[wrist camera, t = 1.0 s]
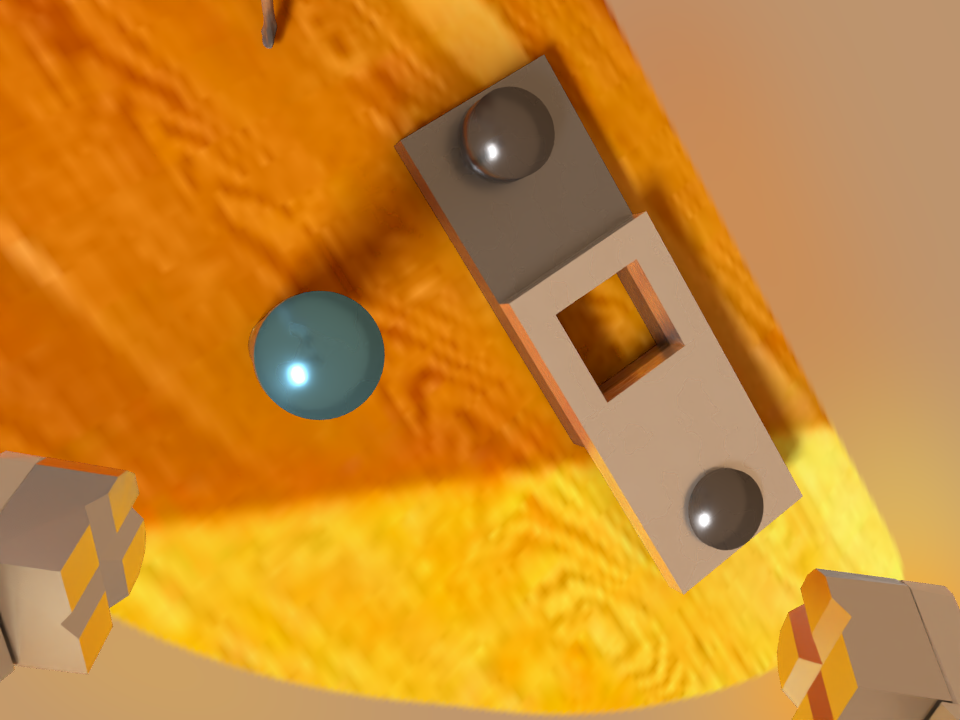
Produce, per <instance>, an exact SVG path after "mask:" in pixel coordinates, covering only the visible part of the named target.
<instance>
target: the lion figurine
mask: <svg viewBox="0 0 960 720" xmlns="http://www.w3.org/2000/svg"><path fill="white" fill-rule="evenodd" d="M262 9H263V15H264V25H263V28H262V31H261V32H262V35H263V39H262V40H263V44H264V46H265V47H267V48H272V47H273V44H274V38H275V34H276V30H277V23H276V20H275V15H274V8H273V0H262Z"/></svg>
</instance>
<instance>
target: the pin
mask: <svg viewBox="0 0 960 720" xmlns="http://www.w3.org/2000/svg"><path fill="white" fill-rule="evenodd" d="M248 349H249V354H250V357H251V359H252V361H253V366H254V371H255V374H256V377H257V379H258V381H259V383H260V385H261V387H262V388H263V390H264V391H265V393H266V394H267V395H268V396H269V397H270V398H271V399H272V400H273V401H274V402H275V403H276V404H277V405H279V406H280V407H281V408H283V409H284V410H286V411H287V412H289V413H292V414H294V415H296V416H299V417H302V418H307V419H313V420H325V419H332V418H337V417H340V416H342V415H345V414H347V413H349V412H351V411H353V410H354V409H356V408H357V407H359V406H360V405H361V404H362V403H364V402H365V401H366V400H367V399H368V397H369V396H370V395H371V394H372V392H373V391H374V389H375V388H376V386H377V384H378V382H379V380H380V377H381V374H382V371H383V366H384V356H385V355H384V344H383V339H382V336H381V333H380V330H379V328H378V326H377V324H376V323H375V321H374V319H373V318H372V316H371V315H370V314H369V313H368V312H367V311H366V310H365V309H364V308H363V307H362V306H361V305H360V304H358V303H357V302H355V301H354V300H352V299H350V298H348V297H346V296H344V295H341V294H338V293H334V292H328V291H311V292H305V293H301V294H298V295H295V296H292V297H290V298H288V299H285V300H284V301H282V302H281V303H279V304H278V305H276V306H275V307H274V308H273V309H272V310H271V311H270V312H269V313H268V314H267V315H266V316H265V318H263V319H262V320H260V321H259V322H258V323H257V324H256V325H255V327H254V328H253V330H252V332H251V334H250V337H249V342H248Z"/></svg>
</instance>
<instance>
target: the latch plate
mask: <svg viewBox="0 0 960 720" xmlns="http://www.w3.org/2000/svg"><path fill="white" fill-rule="evenodd" d="M394 147H395V149H396V151H397V152H398V154H399V156H400V157H401V159H402V161H403V162H404V164H405V165H406V167H407V169H408V170H409V172H410V174H411V175H412V177H413V179H414V180H415V182H416V184H417V185H418V187H419V189H420V190H421V192H422V194H423V195H424V197H425V199H426V200H427V202H428V203H429V205H430V207H431V208H432V210H433V212H434V213H435V215H436V217H437V218H438V220H439V222H440V223H441V225H442V227H443V228H444V230H445V232H446V233H447V235H448V237H449V238H450V240H451V241H452V243H453V245H454V246H455V248H456V250H457V251H458V253H459V255H460V256H461V258H462V260H463V261H464V263H465V265H466V266H467V268H468V270H469V271H470V273H471V275H472V276H473V278H474V279H475V281H476V283H477V284H478V286H479V288H480V289H481V291H482V293H483V294H484V296H485V298H486V299H487V301H488V303H489V304H490V306H491V308H492V309H493V311H494V313H495V314H496V316H497V318H498V319H499V321H500V322H501V324H502V326H503V327H504V329H505V331H506V332H507V334H508V336H509V337H510V339H511V341H512V342H513V344H514V346H515V347H516V349H517V351H518V352H519V354H520V356H521V357H522V359H523V360H524V362H525V364H526V365H527V367H528V369H529V370H530V372H531V374H532V375H533V377H534V379H535V380H536V382H537V384H538V385H539V387H540V389H541V390H542V392H543V394H544V395H545V397H546V398H547V400H548V402H549V403H550V405H551V407H552V408H553V410H554V412H555V413H556V415H557V417H558V418H559V420H560V422H561V423H562V425H563V427H564V428H565V430H566V432H567V433H568V435H569V437H570V438H571V440H572V441H573V443H574V444H577V445H580V446H583V447H585V448H586V449H587V451H588V453H589V454H590V456H591V457H592V459H593V461H594V462H595V464H596V466H597V467H598V469H599V471H600V472H601V474H602V476H603V477H604V479H605V481H606V482H607V484H608V486H609V487H610V489H611V491H612V492H613V494H614V496H615V497H616V499H617V501H618V502H619V504H620V506H621V507H622V509H623V511H624V512H625V514H626V516H627V517H628V519H629V521H630V522H631V524H632V526H633V527H634V529H635V531H636V532H637V534H638V536H639V537H640V539H641V540H642V542H643V544H644V545H645V547H646V549H647V550H648V552H649V554H650V555H651V557H652V559H653V560H654V562H655V564H656V565H657V567H658V569H659V570H660V572H661V574H662V575H663V577H664V579H665V580H666V582H667V584H668V585H669V587H671V588H673V589H675V590H676V591H678V592H680V593H682V594H685V593H686V592H687V591H688V590H690V589H691V588H692V587H693V586H694V585H696V584H697V583H698V582H699V581H701V580H702V579H703V578H704V577H705V576H707V575H708V574H709V573H710V572H711V571H713V570H714V569H715V568H716V567H718V566H719V565H720V564H721V563H722V562H724V561H725V560H726V559H727V558H728V557H730V556H731V555H732V554H733V553H735V552H736V551H737V550H738V549H739V548H741V547H742V546H743V545H744V544H746V543H747V542H748V541H749V540H750V539H751V538H753V537H754V536H755V535H756V534H758V533H759V532H760V531H761V530H762V529H764V528H765V527H766V526H767V525H768V524H770V523H771V522H772V521H773V520H775V519H776V518H777V517H778V516H779V515H781V514H782V513H783V512H784V511H785V510H787V509H788V508H789V507H790V506H792V505H793V504H794V503H795V502H796V501H798V500H799V499H800V498H801V497H802V494H801V492H800V490H799V489H798V487H797V485H796V483H795V481H794V479H793V478H792V476H791V474H790V472H789V470H788V469H787V467H786V465H785V463H784V461H783V459H782V458H781V456H780V454H779V452H778V450H777V448H776V447H775V445H774V443H773V441H772V439H771V438H770V436H769V434H768V432H767V430H766V428H765V427H764V425H763V423H762V421H761V419H760V418H759V416H758V414H757V412H756V410H755V408H754V407H753V405H752V403H751V401H750V399H749V397H748V396H747V394H746V392H745V390H744V388H743V387H742V385H741V383H740V381H739V379H738V377H737V376H736V374H735V372H734V370H733V368H732V366H731V365H730V363H729V361H728V359H727V357H726V356H725V354H724V352H723V350H722V348H721V346H720V345H719V343H718V341H717V339H716V337H715V336H714V334H713V332H712V330H711V328H710V326H709V325H708V323H707V321H706V319H705V317H704V315H703V314H702V312H701V310H700V308H699V306H698V305H697V303H696V301H695V299H694V297H693V295H692V294H691V292H690V290H689V288H688V286H687V284H686V283H685V281H684V279H683V277H682V275H681V274H680V272H679V270H678V268H677V266H676V264H675V263H674V261H673V259H672V257H671V255H670V254H669V252H668V250H667V248H666V246H665V244H664V243H663V241H662V239H661V237H660V235H659V233H658V232H657V230H656V228H655V226H654V224H653V223H652V221H651V219H650V217H649V215H648V213H647V212H646V211H645V212H641V213H637V214H632V213H631V211H630V209H629V207H628V205H627V203H626V202H625V200H624V198H623V196H622V194H621V193H620V191H619V189H618V187H617V185H616V184H615V182H614V180H613V178H612V176H611V175H610V173H609V171H608V169H607V167H606V166H605V164H604V162H603V160H602V158H601V156H600V155H599V153H598V151H597V149H596V147H595V146H594V144H593V142H592V140H591V138H590V137H589V135H588V133H587V131H586V129H585V128H584V126H583V124H582V122H581V120H580V118H579V117H578V115H577V113H576V111H575V109H574V108H573V106H572V104H571V102H570V100H569V99H568V97H567V95H566V93H565V91H564V90H563V88H562V86H561V84H560V82H559V81H558V79H557V77H556V75H555V73H554V71H553V70H552V68H551V66H550V64H549V62H548V61H547V59H546V57H545V55H543V56H541V57H539V58H538V59H536V60H534V61H533V62H531V63H529V64H528V65H526V66H524V67H522V68H521V69H519V70H517V71H516V72H514V73H512V74H511V75H509V76H507V77H506V78H504V79H502V80H501V81H499V82H497V83H496V84H494V85H492V86H491V87H489V88H487V89H486V90H484V91H482V92H481V93H479V94H477V95H476V96H474V97H472V98H471V99H469V100H467V101H466V102H464V103H462V104H461V105H459V106H457V107H456V108H454V109H452V110H451V111H449V112H447V113H446V114H444V115H442V116H441V117H439V118H437V119H436V120H434V121H432V122H431V123H429V124H427V125H426V126H424V127H422V128H421V129H419V130H417V131H416V132H414V133H412V134H411V135H409V136H407V137H406V138H404V139H402V140H401V141H399V142H398V143H397V144H396V145H395V146H394ZM615 273H617V275H618V277H619V278H620V280H621V282H622V284H623V285H624V287H625V289H626V291H627V292H628V294H629V296H630V298H631V300H632V301H633V303H634V305H635V307H636V308H637V310H638V312H639V314H640V315H641V317H642V319H643V321H644V323H645V324H646V326H647V328H648V330H649V331H650V333H651V335H652V337H653V338H654V340H655V342H656V344H657V345H656V346H654V347H653V348H651V349H650V350H649V351H647V352H646V353H645V354H643V355H642V356H640V357H639V358H638V359H636V360H635V361H634V362H632V363H631V364H629V365H628V366H627V367H625V368H624V369H623V370H621V371H620V372H618V373H617V374H616V375H614V376H613V377H612V378H610V379H609V380H607V381H606V382H605V383H603V384H602V385H601V386H599V387H598V386H597V384H596V383H595V381H594V379H593V378H592V376H591V374H590V373H589V371H588V369H587V367H586V366H585V364H584V362H583V361H582V359H581V357H580V356H579V354H578V352H577V350H576V349H575V347H574V345H573V344H572V342H571V340H570V339H569V337H568V335H567V333H566V332H565V330H564V328H563V327H562V325H561V323H560V322H559V320H558V318H557V316H556V314H557V313H559V312H560V311H562V310H563V309H565V308H566V307H568V306H569V305H570V304H572V303H573V302H575V301H576V300H578V299H579V298H581V297H582V296H584V295H585V294H586V293H588V292H589V291H591V290H592V289H594V288H595V287H597V286H598V285H599V284H601V283H602V282H604V281H605V280H607V279H608V278H610V277H611V276H612V275H614V274H615Z"/></svg>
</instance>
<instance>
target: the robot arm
mask: <svg viewBox="0 0 960 720" xmlns="http://www.w3.org/2000/svg"><path fill="white" fill-rule="evenodd" d="M138 495H139V490H138V486H137V481H136V477H135V474H134V473H132V472H129V471H127V470H121V469H115V468H109V467H103V466H97V465H91V464H85V463H80V462H74V461H68V460H62V459H56V458H50V457H40V456H34V455H28V454H22V453H16V452H10V451H5V452H3V453H1V454H0V681H2V680H3V679H4V678H5V677H7V676H8V675H9V674H11V673H12V672H13V671H14V670H15V668H14V666H21V667H29V668H38V669H46V670H55V671H64V672H72V673H80V674H88V673H89V671H90V670H91V668H92V666H93V664H94V662H95V660H96V658H97V656H98V654H99V652H100V650H101V648H102V646H103V644H104V642H105V640H106V639H107V637H108V635H109V633H110V631H111V629H112V627H113V624H112V619H111V615H110V610H109V608H110V607H112V606H113V605H115V604H116V603H118V602H119V601H121V600H122V599H124V598H125V597H127V596H128V595H129V594H130V592H131V590H132V588H133V586H134V584H135V582H136V580H137V578H138V575H139V572H140V568H141V565H142V561H143V557H144V554H145V542H146V531H145V524H144V519H143V518H142V517H141V516H140V515H139V514H138V513H137V512H136V511H135V510H134V509H133V508H132V506H133V504H134V502H135V500H136V498H137V496H138ZM801 593H802V597H803V601H804V604H803V605H801V606H799V607H797V608H796V609H794V610H792V611H790V612H788V615H787V617H786V619H785V621H784V624H783V626H782V628H781V630H780V636H779V643H778V650H777V659H778V673H779V678H780V683H781V688H782V690H783V692H784V693H785V694H786V695H787V696H788V697H789V699H790V700H791V701H792V702H793V703H794V704H795V706H796V707H797V708H798V709H797V711H796V713H795V715H794V716H793V718H792V720H960V609H959V607H958V605H957V603H956V600H955V598H954V596H953V594H952V593H951V592H950V591H949V590H948V589H947V588H946V587H945V586H940V585H933V584H926V583H918V582H911V581H904V580H901V581H898V580H896V579H891V578H884V577H876V576H868V575H861V574H853V573H846V572H838V571H831V570H823V569H815V570H813V571H812V572H811V573H809V574H808V575H807V577H806V579H805V581H804V583H803V585H802V587H801Z"/></svg>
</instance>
